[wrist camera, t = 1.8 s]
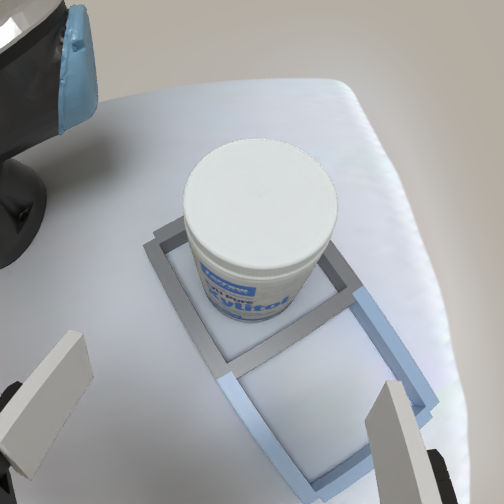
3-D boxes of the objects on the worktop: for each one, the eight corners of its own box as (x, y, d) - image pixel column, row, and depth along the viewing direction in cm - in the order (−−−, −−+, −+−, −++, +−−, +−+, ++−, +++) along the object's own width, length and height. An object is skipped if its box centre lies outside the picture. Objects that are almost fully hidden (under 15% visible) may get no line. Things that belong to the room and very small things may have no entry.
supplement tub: (209, 330, 29) (180, 283, 16) (199, 239, 33) (173, 144, 20) (309, 315, 30) (361, 258, 17) (290, 228, 34) (317, 130, 20)
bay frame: (146, 249, 32) (139, 239, 30) (273, 183, 36) (275, 170, 34) (304, 502, 23) (309, 511, 20) (429, 406, 26) (442, 406, 24)
